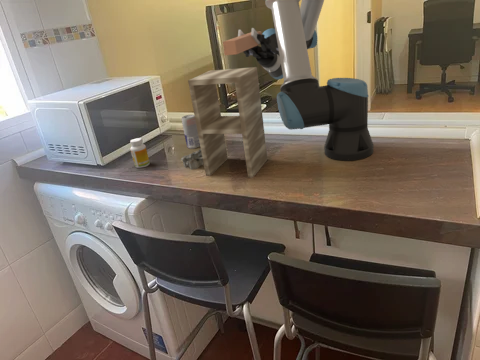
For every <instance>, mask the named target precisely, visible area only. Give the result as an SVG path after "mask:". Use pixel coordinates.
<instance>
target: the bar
mask: <svg viewBox="0 0 480 360" xmlns="http://www.w3.org/2000/svg"><path fill="white" fill-rule="evenodd" d="M257 33H258V34H261V35H262V33H263V32H262V31H261V30H260V31H258V30H257ZM222 45H223V52H224V56H233V55H234V56H235V55H239V54H240V53H244V52H243V51H246V50H248V49H250V48H253V47H255V46H257V45H258V46H260V45H261V43H260V44H257V42H256V41H255V40H254V39H253V38H252V37H251V31H250V32H248V33H244V35H241V36H238V35H237V36H236V37H233V38H230V39H227V40H223V41H222Z"/></svg>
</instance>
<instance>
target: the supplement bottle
mask: <svg viewBox="0 0 480 360" xmlns="http://www.w3.org/2000/svg"><path fill="white" fill-rule="evenodd" d="M130 145H131V147H130V148H129V149H130V154H131V157H132V160H133V161H132V162H133V164H134V167H135V168H137V169H142V168H146V167H149V165H150V163H151V162H150V158H149V154H148V151H147V146H146V144H144V143H143V139H142V138H141V137H137V138H134V139H133V138H132V139H130Z"/></svg>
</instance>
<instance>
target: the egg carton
mask: <svg viewBox="0 0 480 360" xmlns="http://www.w3.org/2000/svg"><path fill="white" fill-rule="evenodd" d="M180 161H181V162H182V163H183V168H189V170H195V169H199V167H200V166H204V163H203V158H202V152H201V148H200V149H198V150H196V151H192V152H191V153H189V154H188V155H187V154H186V155H183V156H182V157H181V158H180Z"/></svg>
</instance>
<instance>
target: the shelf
mask: <svg viewBox="0 0 480 360" xmlns="http://www.w3.org/2000/svg"><path fill="white" fill-rule="evenodd" d="M187 83H188V84H187V85H188V88H189V94H190V99H191V103H192V109H193V115H195V121H196V126H197V131H198V137H199V142H200V146H199V148H200V149H201V152H202V158H203V163H204V165H203V167H204V172H205V176H206V177H207V176H209V177H211V175H213V174H214V173H215V172H216V171H217V170H218V169H220V167H221V166H222V165H223V164H224V163H225V162H226V161H227V160H228V151H227V145H226V137H225V135H230V134H231V135H232V134H233V135H236V134H237V135H239V134H241V136H242V143H243V149H244V156H245V164H246V165H245V167H246V173H247V178H251V179H253V178H254V177H255V175H256V174H257V173H258V172H259V171H260V169H261V168H262V167H263V166H264V165H265V163H266V162H267V161H268V152H267V145H266V144H267V143H266V135H265V127H264V119H263V109H262V99H261V91H260V82H259V73H258V67H257V66H254V67H253V66H251V67H241V68H228V69H215V70H214V69H211V70H208V71H206V72H204V73H201V74H199V75H197V76H195V77H193V78H190V79H188V80H187ZM224 84H234V86H235V94H236V99H237V108H238V114H239V115H222V114H221V107H220V100H219V95H218V89H217V85H224Z"/></svg>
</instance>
